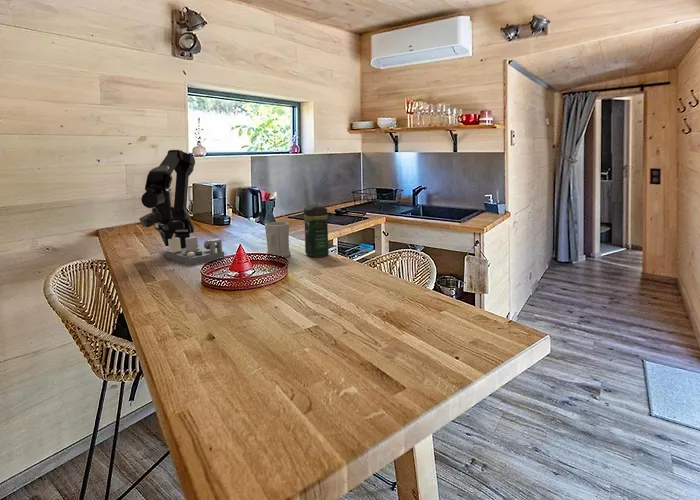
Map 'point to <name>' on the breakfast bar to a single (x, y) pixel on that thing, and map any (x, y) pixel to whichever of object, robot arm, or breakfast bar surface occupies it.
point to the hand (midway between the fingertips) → (167, 246)
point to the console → (198, 254)
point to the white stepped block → (191, 244)
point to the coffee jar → (316, 231)
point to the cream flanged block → (174, 245)
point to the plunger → (208, 245)
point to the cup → (278, 238)
